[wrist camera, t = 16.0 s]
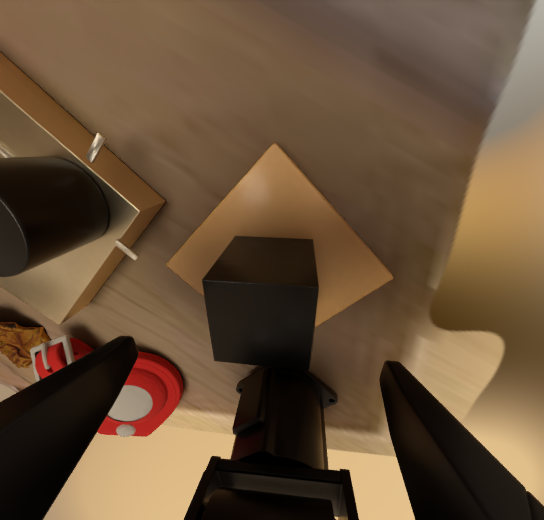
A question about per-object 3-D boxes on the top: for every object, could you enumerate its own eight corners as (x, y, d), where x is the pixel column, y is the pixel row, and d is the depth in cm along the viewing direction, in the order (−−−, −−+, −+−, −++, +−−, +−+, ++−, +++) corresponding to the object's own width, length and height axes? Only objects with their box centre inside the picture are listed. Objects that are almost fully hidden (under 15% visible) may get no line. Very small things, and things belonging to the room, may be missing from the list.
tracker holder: (188, 368, 19) (166, 458, 21) (196, 336, 23) (176, 414, 25) (7, 349, 16) (4, 455, 18) (53, 316, 20) (46, 406, 22)
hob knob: (123, 204, 12) (34, 231, 8) (89, 256, 13) (2, 300, 9) (41, 134, 11) (-108, 126, 7) (16, 201, 12) (-115, 225, 8)
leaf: (6, 354, 23) (-11, 369, 22) (-44, 304, 20) (-69, 319, 18) (70, 355, 23) (56, 371, 22) (32, 306, 19) (13, 321, 18)
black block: (313, 238, 13) (319, 287, 8) (307, 304, 15) (309, 371, 10) (234, 235, 13) (201, 279, 9) (239, 299, 15) (214, 361, 11)
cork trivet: (388, 270, 14) (394, 278, 13) (274, 343, 18) (273, 353, 17) (276, 142, 12) (274, 141, 11) (172, 258, 16) (165, 265, 15)
